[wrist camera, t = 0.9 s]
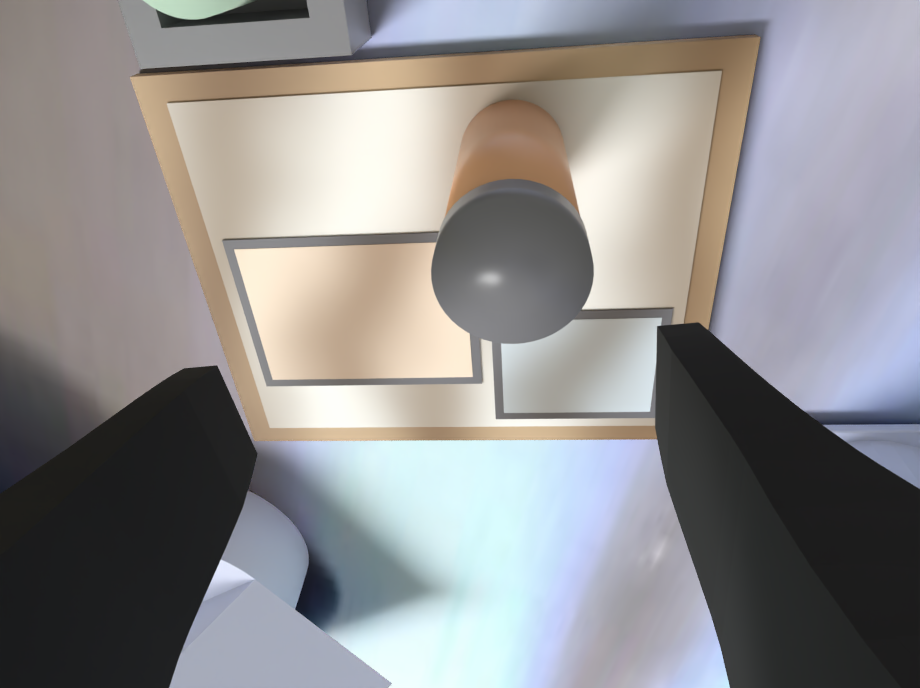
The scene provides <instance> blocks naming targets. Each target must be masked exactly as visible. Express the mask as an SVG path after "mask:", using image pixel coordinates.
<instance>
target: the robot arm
mask: <svg viewBox="0 0 920 688" xmlns="http://www.w3.org/2000/svg"><path fill="white" fill-rule="evenodd" d="M655 430H656V435H657V440H658V445H659V450H660V455H661V460H662V465H663V469H664V474H665V479H666V483H667V487H668V490H669V493H670V496H671V499H672V502H673V505H674V508H675V511H676V514H677V517H678V520H679V523H680V526H681V528H682V531H683V534H684V537H685V540H686V543H687V546H688V549H689V552H690V555H691V558H692V561H693V564H694V567H695V569H696V572H697V575H698V578H699V581H700V584H701V587H702V590H703V593H704V596H705V599H706V602H707V605H708V608H709V610H710V613H711V616H712V620H713V623H714V627H715V630H716V633H717V637H718V640H719V643H720V647H721V651H722V655H723V659H724V663H725V668H726V672H727V676H728V680H729V685H730V688H920V424H881V425H822V424H820V423H819V422H818V421H816V420H815V419H813V418H812V417H811V416H809V415H808V414H807V413H806V412H804V411H803V410H802V409H800V408H799V407H798V406H796V405H795V404H794V403H793V402H791V401H790V400H789V399H788V398H786V397H785V396H784V395H783V394H782V393H780V392H779V391H778V390H777V389H775V388H774V387H773V386H772V385H770V384H769V383H768V382H767V381H766V380H764V379H763V378H762V377H761V376H760V375H758V374H757V373H756V372H755V371H754V370H753V369H752V368H750V367H749V366H748V365H747V364H746V363H745V362H743V361H742V360H741V359H740V358H739V357H738V356H737V355H735V354H734V353H733V352H732V351H731V350H730V349H729V348H728V347H727V346H725V345H724V344H723V343H722V342H721V341H720V340H719V339H718V338H716V337H715V336H714V335H713V334H712V333H711V332H710V331H708V330H707V329H706V328H705V327H704V326H703V325H701V324H700V323H699V322H696V323H685V324H674V325H662V326H657V353H656V401H655ZM256 458H257V452H256V450H255V448H254V446H253V443H252V441H251V439H250V437H249V435H248V432H247V430H246V428H245V426H244V424H243V421H242V419H241V417H240V415H239V413H238V410H237V408H236V406H235V404H234V402H233V399H232V397H231V395H230V393H229V391H228V388H227V386H226V384H225V382H224V380H223V377H222V375H221V373H220V371H219V369H218V366H206V367H195V368H184V369H182V370H180V371H179V372H177V373H175V374H173V375H172V376H170V377H169V378H167V379H165V380H164V381H162V382H161V383H159V384H158V385H156V386H155V387H153V388H152V389H150V390H149V391H147V392H146V393H145V394H143V395H142V396H140V397H139V398H137V399H136V400H135V401H133V402H132V403H130V404H129V405H128V406H126V407H125V408H123V409H122V410H121V411H119V412H118V413H116V414H115V415H114V416H112V417H111V418H109V419H108V420H107V421H105V422H104V423H102V424H101V425H100V426H98V427H97V428H95V429H94V430H93V431H91V432H90V433H89V434H87V435H86V436H84V437H83V438H82V439H80V440H79V441H77V442H76V443H75V444H73V445H72V446H70V447H69V448H67V449H66V450H65V451H63V452H62V453H60V454H59V455H57V456H56V457H54V458H53V459H51V460H50V461H48V462H47V463H45V464H44V465H42V466H41V467H39V468H38V469H36V470H35V471H34V472H32V473H31V474H29V475H28V476H26V477H25V478H23V479H22V480H20V481H19V482H17V483H16V484H14V485H13V486H11V487H10V488H8V489H7V490H5V491H4V492H2V493H1V494H0V688H169V687H170V684H171V681H172V678H173V674H174V671H175V668H176V665H177V662H178V659H179V656H180V654H181V651H182V649H183V646H184V644H185V641H186V638H187V636H188V633H189V631H190V628H191V626H192V624H193V622H194V619H195V617H196V615H197V612H198V610H199V608H200V606H201V603H202V601H203V599H204V596H205V594H206V592H207V590H208V587H209V585H210V583H211V581H212V578H213V576H214V574H215V571H216V569H217V567H218V565H219V562H220V560H221V558H222V556H223V553H224V551H225V549H226V546H227V544H228V542H229V539H230V537H231V535H232V532H233V530H234V528H235V525H236V523H237V521H238V518H239V516H240V513H241V511H242V508H243V505H244V502H245V499H246V495H247V492H248V489H249V485H250V482H251V478H252V474H253V470H254V466H255V462H256Z"/></svg>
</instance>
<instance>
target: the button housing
mask: <svg viewBox="0 0 920 688" xmlns="http://www.w3.org/2000/svg"><path fill="white" fill-rule="evenodd" d="M118 3H119V6H120V9H121V12H122V15H123V18H124V21H125V24H126V27H127V30H128V33H129V36H130V39H131V42H132V45H133V48H134V51H135V54H136V57H137V60H138V63H139V67H140V69H146V68H162V67H177V66H193V65H208V64H224V63H239V62H255V61H270V60H286V59H301V58H316V57H332V56H347V55H353V54H354V53H355V52H356V51H357V50H358V49H359V48H360V47H362V46H363V45H364V44H365V43H366V42H367V41H368V40H369V39H371V38H372V37H371V30H370V23H369V15H368V8H367V0H257V1H254V2H251V3H248V4H246V5H243V6H240V7H237V8H234V9H231V10H228V11H225V12H223V13H220V14H217V15H214V16H211V17H208V18H203V19H181V18H177V17H173V16H170V15H167V14H165V13H163V12H160V11H158V10H157V9H155V8H153V7H151V6H150V5H148V4H147V3H146V2H144V1H143V0H118Z"/></svg>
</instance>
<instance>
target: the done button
mask: <svg viewBox="0 0 920 688" xmlns="http://www.w3.org/2000/svg"><path fill="white" fill-rule="evenodd" d="M143 1H144V2H146V3H147V4H148V5H150V6H151V7H153V8H155V9H157V10H158V11H160V12H163V13H165V14H167V15H170V16H173V17H177V18H181V19H203V18H208V17H211V16H214V15H217V14H220V13H223V12H225V11H228V10H231V9H234V8H237V7H240V6H243V5H246V4H248V3H251V2H254V1H257V0H143Z"/></svg>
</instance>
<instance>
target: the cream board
mask: <svg viewBox="0 0 920 688" xmlns="http://www.w3.org/2000/svg"><path fill="white" fill-rule="evenodd" d="M760 38H761V37H760V36H758V35H756V34H754V35H738V36H722V37H707V38H691V39H675V40H660V41H644V42H629V43H613V44H597V45H582V46H566V47H550V48H535V49H519V50H503V51H488V52H472V53H456V54H441V55H425V56H409V57H394V58H378V59H362V60H347V61H331V62H315V63H300V64H284V65H268V66H253V67H237V68H222V69H206V70H190V71H175V72H159V73H143V74H136V75H134V76H131V77H130V78H131V81H132V84H133V87H134V90H135V93H136V96H137V99H138V102H139V105H140V108H141V111H142V113H143V116H144V119H145V122H146V125H147V128H148V131H149V134H150V137H151V140H152V143H153V146H154V149H155V152H156V154H157V157H158V160H159V163H160V166H161V169H162V172H163V175H164V178H165V181H166V184H167V187H168V190H169V193H170V195H171V198H172V201H173V204H174V207H175V210H176V213H177V216H178V219H179V222H180V225H181V228H182V231H183V233H184V236H185V239H186V242H187V245H188V248H189V251H190V254H191V257H192V260H193V263H194V266H195V269H196V272H197V274H198V277H199V280H200V283H201V286H202V289H203V292H204V295H205V298H206V301H207V304H208V307H209V310H210V313H211V315H212V318H213V321H214V324H215V327H216V330H217V333H218V336H219V339H220V342H221V345H222V348H223V351H224V354H225V356H226V359H227V362H228V365H229V368H230V371H231V374H232V377H233V380H234V383H235V386H236V389H237V392H238V395H239V397H240V400H241V403H242V406H243V409H244V412H245V415H246V418H247V421H248V424H249V427H250V430H251V433H252V436H253V438H254V441H368V440H603V439H657V435H656V430H655V401H656V353H657V326H662V325H674V324H685V323H696V322H699V323H700V324H701V325H703V326H704V327H705V328H706V329H707V330H708V328H709V323H710V317H711V312H712V306H713V300H714V295H715V289H716V284H717V278H718V273H719V267H720V261H721V256H722V250H723V245H724V239H725V233H726V228H727V222H728V217H729V211H730V205H731V200H732V194H733V189H734V183H735V178H736V172H737V166H738V161H739V155H740V150H741V144H742V138H743V133H744V127H745V122H746V116H747V110H748V105H749V99H750V94H751V88H752V83H753V77H754V71H755V66H756V60H757V55H758V49H759V43H760ZM504 100H523V101H527V102H531V103H533V104H535V105H538V106H539V107H541V108H542V109H544V110H545V111H546V112H548V113H549V114H550V115H551V116H552V118H553V119H554V120H555V122H556V123H557V124H558V126H559V128H560V131H561V133H562V136H563V140H564V145H565V149H566V154H567V159H568V163H569V168H570V172H571V177H572V181H573V186H574V190H575V195H576V199H577V204H578V208H579V213H580V217H581V219H582V221H583V223H584V226H585V229H586V232H587V236H588V240H589V245H590V249H591V253H592V258H593V264H594V277H593V285H592V288H591V292H590V295H589V297H588V299H587V301H586V303H585V305H584V306H583V308H582V310H581V311H580V312H579V313H578V315H577V316H576V317H575V318H574V319H573V320H572V321H571V322H570V323H569V324H568V325H566V326H565V327H563V328H562V329H561V330H559V331H557V332H556V333H554V334H552V335H550V336H548V337H545V338H543V339H540V340H536V341H533V342H527V343H520V344H503V343H496V342H491V341H487V340H484V339H481V338H478V337H476V336H474V335H472V334H470V333H468V332H466V331H465V330H463V329H462V328H460V327H459V326H457V325H456V324H455V323H454V322H453V321H452V320H451V319H450V318H449V317H448V316H447V315H446V314H445V312H444V311H443V309H442V308H441V306H440V304H439V302H438V300H437V298H436V296H435V293H434V290H433V286H432V280H431V266H432V259H433V255H434V250H435V246H436V242H437V237H438V233H439V230H440V227H441V224H442V222H443V220H444V218H445V213H446V209H447V204H448V200H449V196H450V191H451V187H452V182H453V178H454V173H455V169H456V164H457V160H458V155H459V151H460V146H461V142H462V138H463V135H464V132H465V130H466V128H467V126H468V125H469V123H470V122H471V120H472V119H473V118H474V117H475V116H476V115H477V114H478V113H479V112H480V111H482V110H483V109H484V108H486V107H488V106H489V105H492V104H494V103H496V102H500V101H504Z"/></svg>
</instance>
